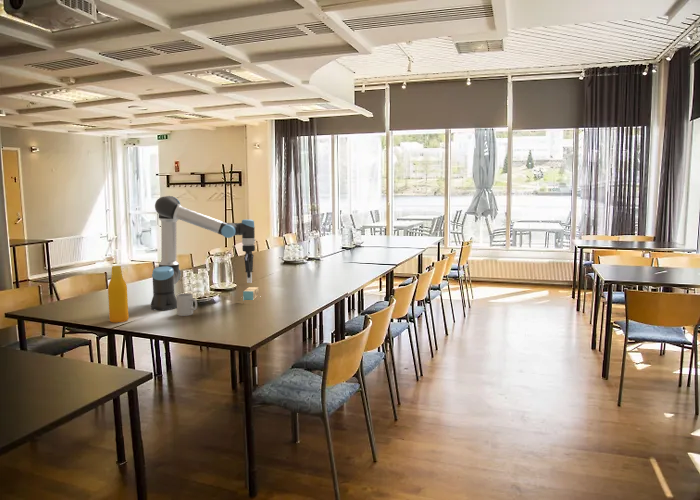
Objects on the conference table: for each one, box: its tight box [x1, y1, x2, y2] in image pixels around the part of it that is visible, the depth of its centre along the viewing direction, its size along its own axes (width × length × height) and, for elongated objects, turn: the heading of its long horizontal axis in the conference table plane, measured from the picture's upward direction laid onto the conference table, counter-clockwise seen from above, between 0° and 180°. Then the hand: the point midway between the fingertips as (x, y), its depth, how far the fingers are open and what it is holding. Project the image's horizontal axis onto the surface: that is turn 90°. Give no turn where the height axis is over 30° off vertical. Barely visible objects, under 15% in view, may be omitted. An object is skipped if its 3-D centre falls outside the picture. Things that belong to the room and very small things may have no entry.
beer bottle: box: [107, 265, 130, 324], centre depth 272 cm, size 9×9×29 cm
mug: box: [176, 292, 198, 317], centre depth 287 cm, size 12×8×11 cm
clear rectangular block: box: [242, 286, 260, 301], centre depth 325 cm, size 6×6×14 cm
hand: (249, 282), depth 321 cm, fingers closed
